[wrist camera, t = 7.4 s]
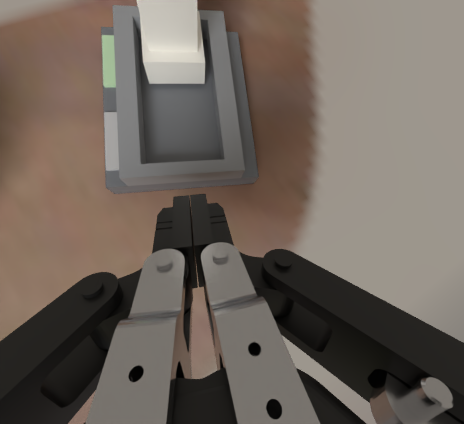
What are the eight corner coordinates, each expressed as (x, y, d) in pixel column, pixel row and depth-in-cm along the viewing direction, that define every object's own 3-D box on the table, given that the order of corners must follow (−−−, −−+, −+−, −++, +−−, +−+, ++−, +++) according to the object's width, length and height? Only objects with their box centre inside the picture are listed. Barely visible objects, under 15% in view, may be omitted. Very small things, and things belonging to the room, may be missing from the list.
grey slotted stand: (114, 193, 15) (94, 180, 12) (109, 45, 17) (91, 3, 14) (253, 183, 17) (264, 168, 14) (234, 49, 19) (240, 12, 16)
